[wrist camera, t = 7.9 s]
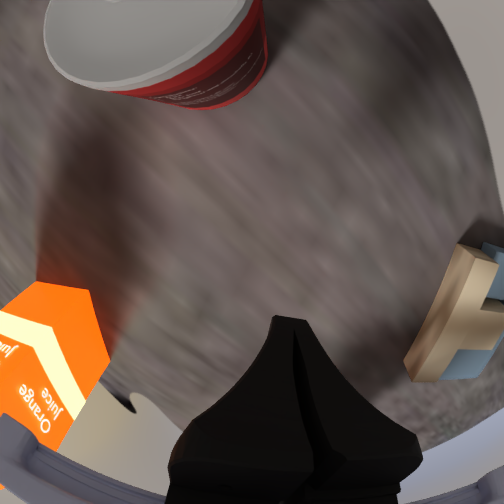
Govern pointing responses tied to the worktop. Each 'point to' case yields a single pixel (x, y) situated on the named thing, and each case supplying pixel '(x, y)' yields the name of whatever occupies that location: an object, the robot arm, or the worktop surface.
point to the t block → (457, 316)
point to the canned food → (160, 48)
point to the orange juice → (49, 358)
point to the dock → (475, 360)
